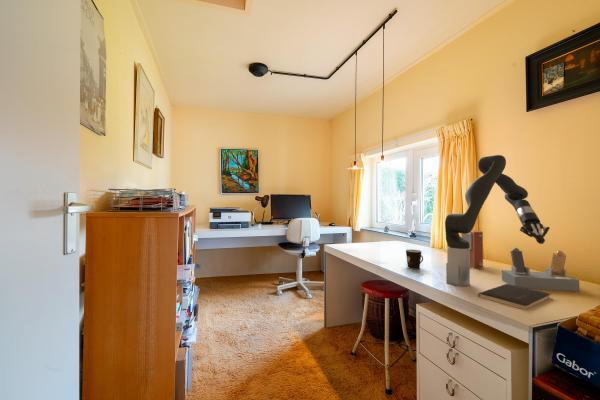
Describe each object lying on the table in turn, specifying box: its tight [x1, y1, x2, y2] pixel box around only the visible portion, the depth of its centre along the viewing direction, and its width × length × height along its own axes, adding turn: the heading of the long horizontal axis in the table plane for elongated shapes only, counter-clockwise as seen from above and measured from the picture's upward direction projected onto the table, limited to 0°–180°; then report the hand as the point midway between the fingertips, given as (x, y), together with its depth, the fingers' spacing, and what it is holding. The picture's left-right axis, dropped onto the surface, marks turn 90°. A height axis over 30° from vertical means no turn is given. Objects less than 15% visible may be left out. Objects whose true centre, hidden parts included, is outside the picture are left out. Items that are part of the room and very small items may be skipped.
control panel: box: [460, 229, 484, 269], centre depth 164 cm, size 21×7×15 cm
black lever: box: [509, 247, 526, 273], centre depth 130 cm, size 4×3×12 cm, turn 76°
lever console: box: [501, 265, 580, 292], centre depth 126 cm, size 24×12×8 cm, turn 77°
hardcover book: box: [477, 283, 552, 310], centre depth 111 cm, size 16×23×2 cm
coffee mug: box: [405, 249, 424, 270], centre depth 159 cm, size 12×9×10 cm
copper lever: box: [550, 250, 567, 276], centre depth 123 cm, size 4×3×12 cm, turn 76°
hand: (542, 242), depth 134 cm, fingers closed
